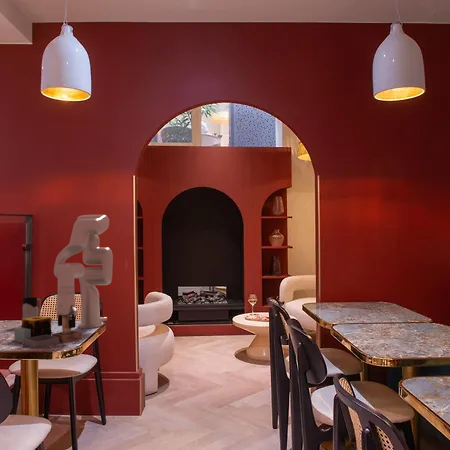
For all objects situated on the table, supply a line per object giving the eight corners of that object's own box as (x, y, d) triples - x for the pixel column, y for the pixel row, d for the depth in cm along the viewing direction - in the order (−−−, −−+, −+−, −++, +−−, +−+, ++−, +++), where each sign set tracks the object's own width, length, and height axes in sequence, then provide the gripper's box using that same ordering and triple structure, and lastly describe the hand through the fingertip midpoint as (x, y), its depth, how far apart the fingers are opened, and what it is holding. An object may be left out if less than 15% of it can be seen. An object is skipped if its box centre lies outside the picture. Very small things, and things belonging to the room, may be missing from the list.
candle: (33, 342, 228) (33, 320, 228) (20, 340, 234) (20, 318, 234) (52, 338, 237) (51, 317, 237) (39, 336, 242) (39, 315, 243)
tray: (46, 340, 231) (46, 334, 231) (59, 343, 224) (59, 337, 224) (23, 344, 223) (23, 338, 223) (35, 348, 215) (35, 341, 215)
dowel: (68, 338, 235) (68, 313, 235) (72, 339, 232) (72, 314, 233) (60, 339, 232) (60, 314, 232) (65, 341, 229) (64, 315, 230)
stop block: (20, 339, 235) (20, 326, 235) (30, 342, 228) (30, 329, 228) (14, 340, 232) (14, 327, 232) (24, 343, 226) (24, 330, 226)
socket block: (70, 336, 239) (70, 330, 239) (82, 339, 233) (82, 332, 233) (51, 340, 232) (51, 333, 232) (62, 342, 225) (62, 336, 225)
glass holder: (18, 326, 268) (18, 299, 268) (34, 322, 282) (33, 295, 282) (32, 327, 266) (32, 299, 266) (47, 322, 280) (47, 296, 280)
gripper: (49, 290, 236) (49, 326, 235) (68, 292, 224) (69, 330, 224) (63, 288, 241) (64, 323, 241) (83, 290, 230) (83, 327, 229)
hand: (66, 326), depth 232 cm, fingers open, 9 cm apart
